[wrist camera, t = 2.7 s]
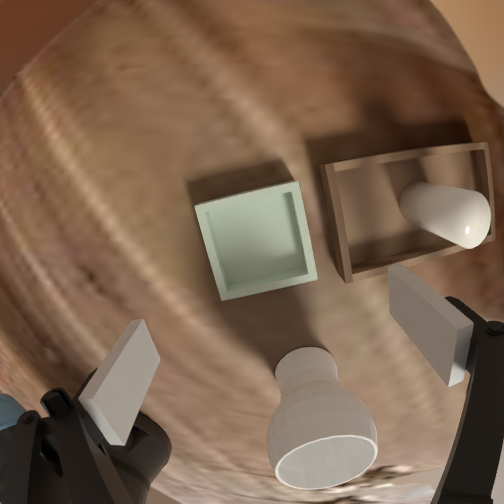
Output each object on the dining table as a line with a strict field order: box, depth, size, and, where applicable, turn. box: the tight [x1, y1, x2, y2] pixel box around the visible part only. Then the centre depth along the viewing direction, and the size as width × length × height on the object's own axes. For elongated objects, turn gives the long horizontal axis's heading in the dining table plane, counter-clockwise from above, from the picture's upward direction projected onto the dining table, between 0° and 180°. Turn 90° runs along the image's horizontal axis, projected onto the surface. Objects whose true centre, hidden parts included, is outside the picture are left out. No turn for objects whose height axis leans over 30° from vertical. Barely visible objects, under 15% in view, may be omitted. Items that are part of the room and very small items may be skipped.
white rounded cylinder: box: [399, 181, 491, 248], centre depth 25 cm, size 5×5×10 cm
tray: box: [318, 142, 495, 283], centre depth 29 cm, size 21×12×3 cm, turn 104°
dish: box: [194, 180, 318, 301], centre depth 30 cm, size 10×10×2 cm
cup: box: [267, 347, 378, 489], centre depth 29 cm, size 11×11×15 cm
